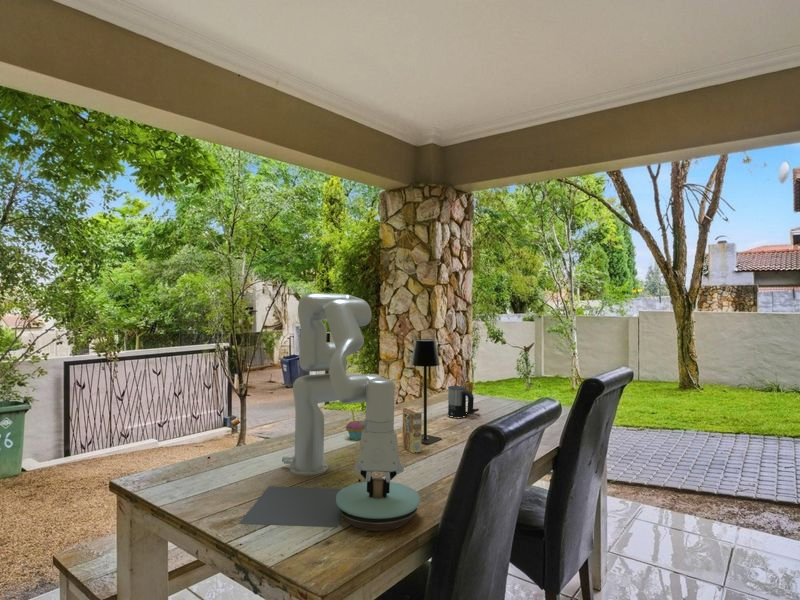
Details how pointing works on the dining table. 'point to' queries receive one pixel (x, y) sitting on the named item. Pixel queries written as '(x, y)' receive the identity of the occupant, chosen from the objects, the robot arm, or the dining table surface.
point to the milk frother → (459, 401)
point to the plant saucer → (377, 521)
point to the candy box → (412, 429)
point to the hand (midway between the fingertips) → (378, 494)
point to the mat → (295, 507)
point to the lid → (377, 500)
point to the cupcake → (354, 429)
